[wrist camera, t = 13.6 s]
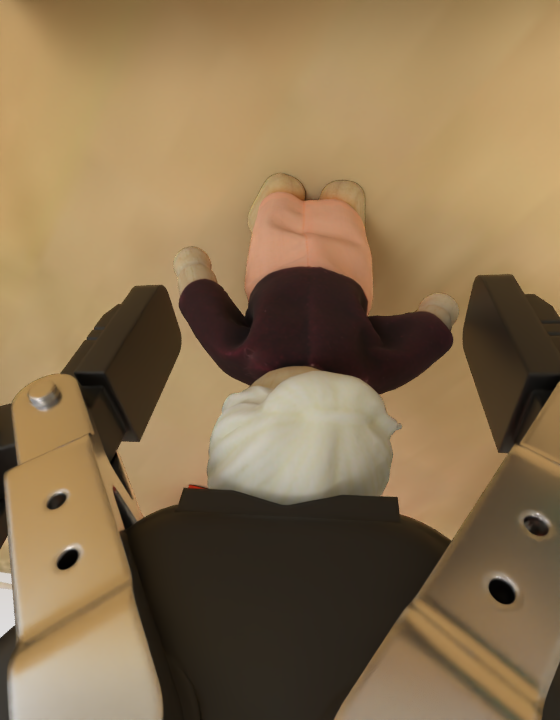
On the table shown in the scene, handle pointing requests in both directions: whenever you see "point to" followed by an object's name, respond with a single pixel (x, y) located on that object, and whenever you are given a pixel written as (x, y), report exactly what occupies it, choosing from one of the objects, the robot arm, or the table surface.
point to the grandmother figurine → (307, 349)
